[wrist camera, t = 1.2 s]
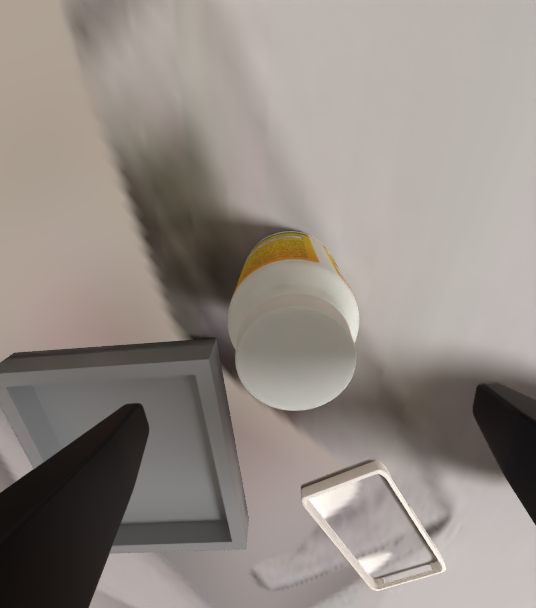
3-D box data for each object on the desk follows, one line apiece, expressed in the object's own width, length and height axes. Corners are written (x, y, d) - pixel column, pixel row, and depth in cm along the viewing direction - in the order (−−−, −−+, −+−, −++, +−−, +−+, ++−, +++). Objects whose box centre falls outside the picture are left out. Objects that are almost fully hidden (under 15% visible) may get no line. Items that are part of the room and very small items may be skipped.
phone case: (297, 485, 27) (369, 576, 32) (298, 500, 26) (373, 593, 31) (378, 453, 25) (442, 554, 30) (383, 468, 24) (449, 571, 29)
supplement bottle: (351, 260, 19) (417, 343, 10) (300, 328, 21) (317, 449, 12) (273, 210, 18) (270, 253, 9) (227, 286, 20) (186, 384, 11)
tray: (248, 517, 28) (246, 549, 26) (94, 523, 29) (79, 554, 27) (216, 338, 21) (208, 359, 19) (14, 352, 22) (-17, 374, 20)
